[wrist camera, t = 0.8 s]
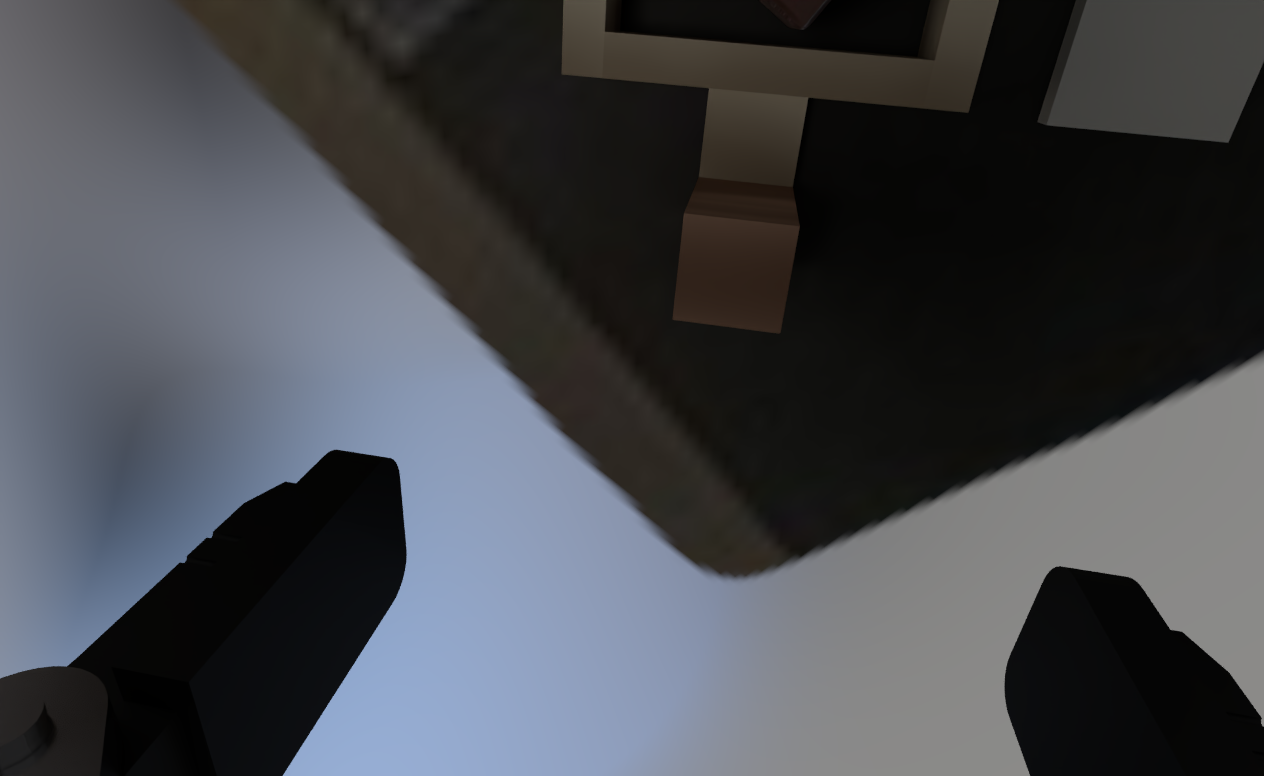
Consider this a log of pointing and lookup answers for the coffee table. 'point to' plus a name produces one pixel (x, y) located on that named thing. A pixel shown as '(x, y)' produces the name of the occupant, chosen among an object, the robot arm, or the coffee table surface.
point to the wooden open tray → (765, 134)
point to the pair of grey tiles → (1157, 67)
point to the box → (796, 11)
